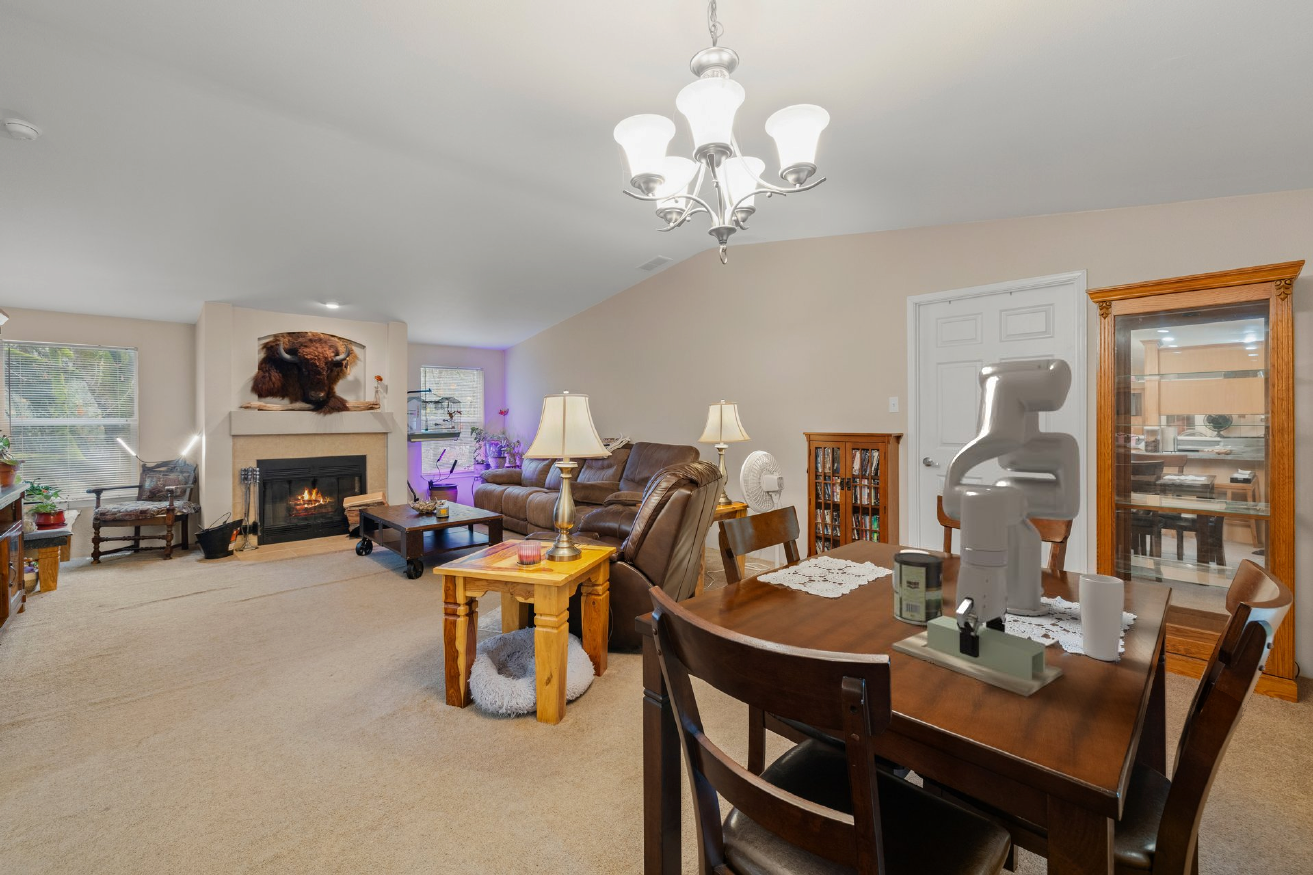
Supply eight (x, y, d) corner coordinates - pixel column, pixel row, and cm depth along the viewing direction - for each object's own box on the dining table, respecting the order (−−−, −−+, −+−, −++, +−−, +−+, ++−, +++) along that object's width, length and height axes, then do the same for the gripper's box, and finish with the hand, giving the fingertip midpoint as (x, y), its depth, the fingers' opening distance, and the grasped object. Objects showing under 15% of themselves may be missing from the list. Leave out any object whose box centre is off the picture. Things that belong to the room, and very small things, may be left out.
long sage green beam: (943, 640, 114) (943, 615, 113) (1045, 672, 99) (1045, 643, 99) (927, 646, 110) (927, 621, 110) (1029, 681, 95) (1030, 651, 95)
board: (930, 633, 120) (930, 614, 120) (1061, 674, 100) (1062, 652, 100) (892, 648, 112) (892, 628, 112) (1026, 696, 92) (1026, 672, 92)
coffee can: (935, 611, 133) (935, 552, 133) (948, 627, 123) (949, 563, 123) (889, 609, 136) (889, 551, 135) (898, 624, 125) (898, 561, 125)
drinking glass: (1113, 651, 110) (1115, 575, 109) (1130, 665, 103) (1131, 584, 103) (1072, 647, 112) (1073, 572, 112) (1086, 660, 106) (1087, 581, 105)
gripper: (984, 547, 112) (984, 632, 112) (938, 559, 102) (937, 653, 102) (1026, 554, 106) (1025, 644, 106) (981, 568, 96) (980, 667, 96)
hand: (982, 648), depth 104 cm, fingers open, 9 cm apart
